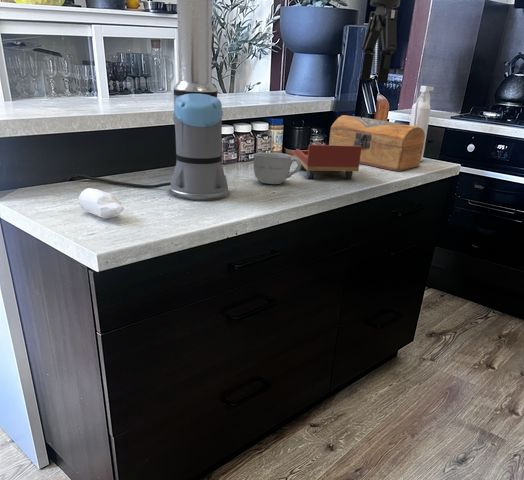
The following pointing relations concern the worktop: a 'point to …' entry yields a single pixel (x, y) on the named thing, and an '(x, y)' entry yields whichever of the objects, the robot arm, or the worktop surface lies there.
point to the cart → (329, 159)
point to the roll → (100, 203)
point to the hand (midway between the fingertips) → (373, 81)
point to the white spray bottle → (422, 112)
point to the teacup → (273, 167)
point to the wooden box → (380, 141)
